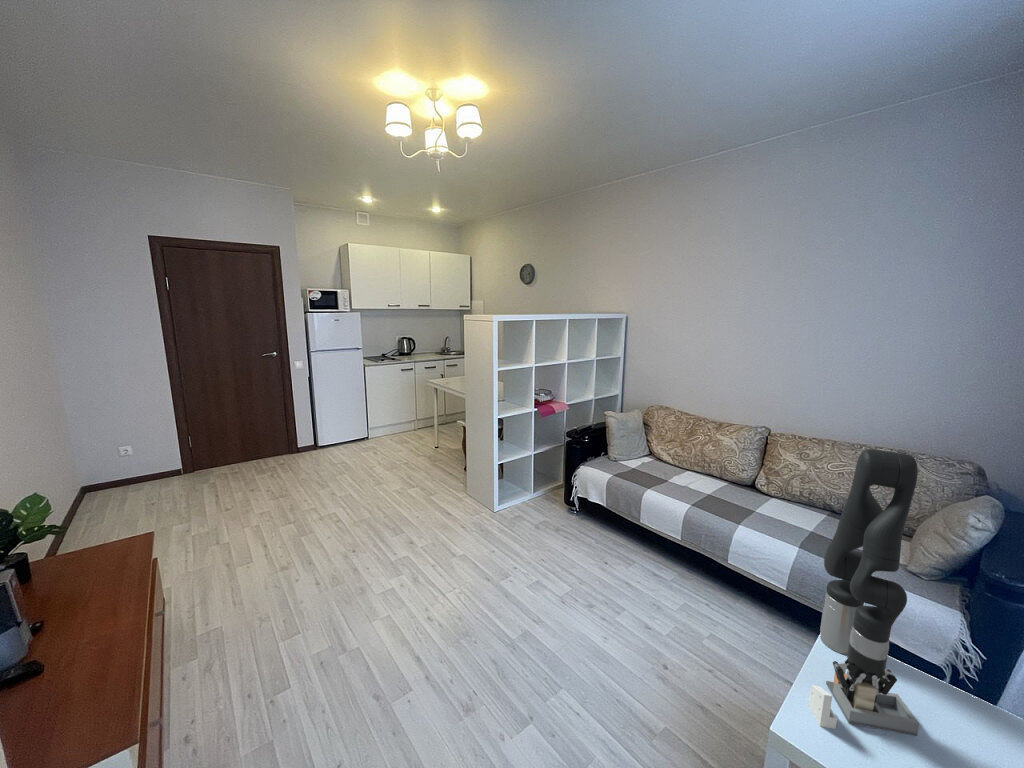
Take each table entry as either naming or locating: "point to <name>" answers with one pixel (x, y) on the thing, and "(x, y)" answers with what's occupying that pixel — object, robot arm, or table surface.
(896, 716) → the socket block
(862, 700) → the tan rectangular block
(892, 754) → the table surface
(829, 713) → the white angled block
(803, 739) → the table surface
